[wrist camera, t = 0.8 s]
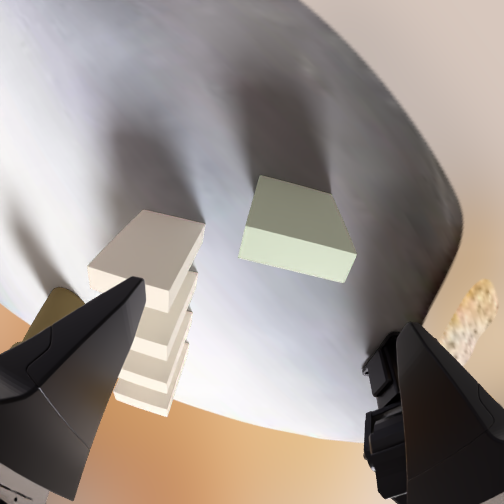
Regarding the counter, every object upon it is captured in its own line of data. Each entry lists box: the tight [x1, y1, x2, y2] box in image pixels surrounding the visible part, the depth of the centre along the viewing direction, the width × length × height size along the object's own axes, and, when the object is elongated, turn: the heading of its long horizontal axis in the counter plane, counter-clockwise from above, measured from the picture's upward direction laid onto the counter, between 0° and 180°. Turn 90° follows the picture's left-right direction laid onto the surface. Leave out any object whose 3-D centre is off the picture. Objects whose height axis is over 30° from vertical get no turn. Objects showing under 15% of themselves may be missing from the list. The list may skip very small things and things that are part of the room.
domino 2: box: [130, 271, 198, 361], centre depth 20 cm, size 2×5×8 cm, turn 78°
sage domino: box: [238, 175, 357, 283], centre depth 16 cm, size 2×5×8 cm, turn 78°
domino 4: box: [113, 343, 189, 417], centre depth 25 cm, size 2×5×8 cm, turn 78°
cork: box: [10, 287, 85, 349], centre depth 23 cm, size 6×6×11 cm
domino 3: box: [118, 311, 193, 394], centre depth 23 cm, size 2×5×8 cm, turn 78°
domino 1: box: [87, 209, 205, 313], centre depth 18 cm, size 2×5×8 cm, turn 77°
